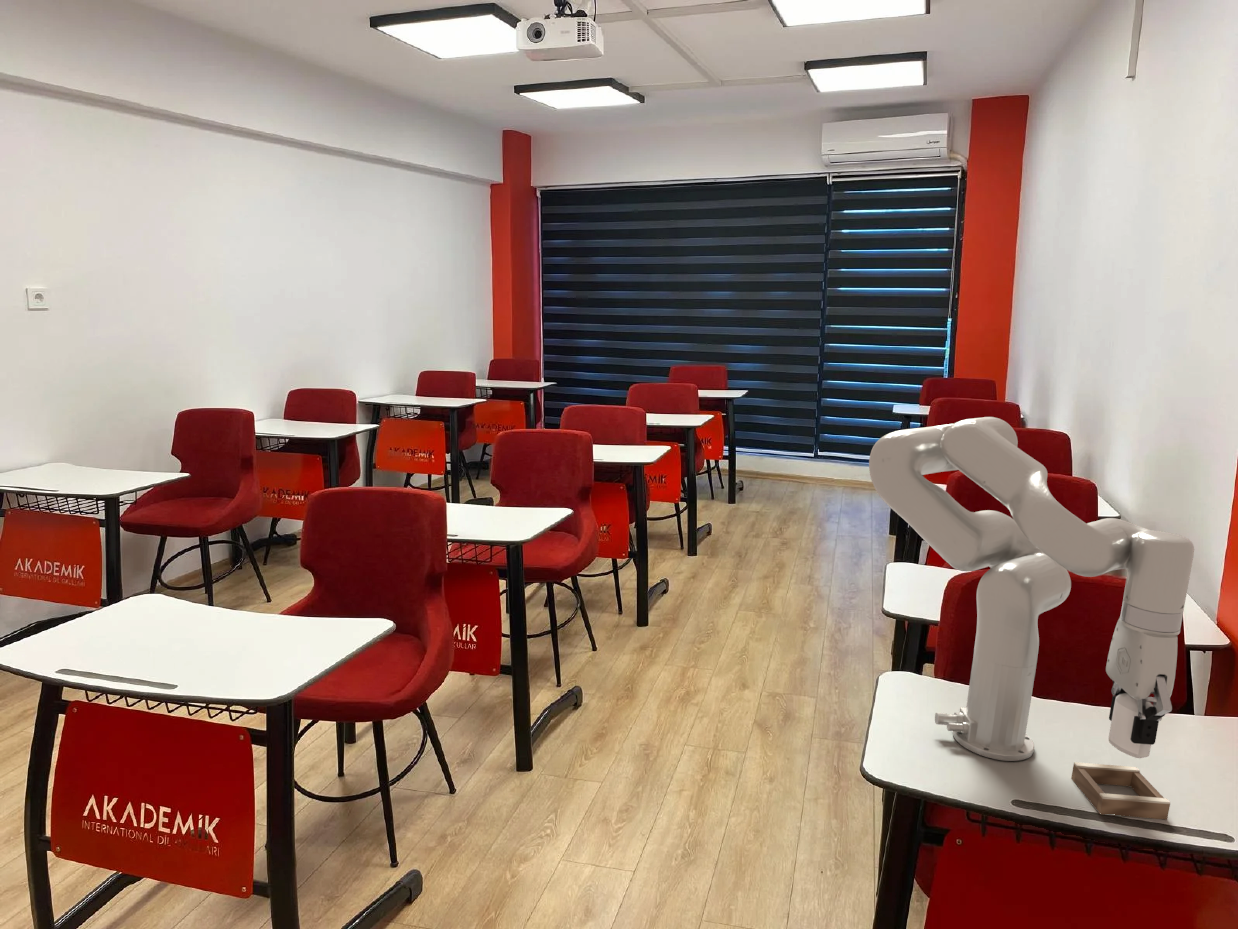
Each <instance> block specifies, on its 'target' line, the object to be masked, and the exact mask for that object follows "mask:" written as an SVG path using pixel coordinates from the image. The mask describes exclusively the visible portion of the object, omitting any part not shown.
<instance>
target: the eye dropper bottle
mask: <svg viewBox="0 0 1238 929" xmlns="http://www.w3.org/2000/svg"><path fill="white" fill-rule="evenodd" d="M1150 706H1153V703H1152V702H1146V709H1147V708H1149V707H1150ZM1134 716H1138V700H1137V699H1134V698H1133V697H1131V696H1130V695H1129V694H1128V693H1124V694H1120V695H1118V696H1117V697H1116V699H1115V703H1114V709H1113V715H1112V720H1111V721H1110V728H1109V734H1108V742H1109V744H1110V745H1111V746H1113V747H1114V748H1115V749H1117V750H1118V751H1120V752H1122V753H1124V754H1125V755H1127V756H1130V757H1132V758H1135V759H1143V758H1148V757H1149V756H1150V752H1151V747H1152V745H1150V744H1136V743H1133V742H1132V741H1131V733H1132V727H1133V722H1134Z"/></svg>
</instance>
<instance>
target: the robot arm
mask: <svg viewBox="0 0 1238 929" xmlns="http://www.w3.org/2000/svg"><path fill="white" fill-rule="evenodd" d="M1018 442H1019V441H1018V436H1017V432H1016V431H1015V430H1014V428H1013V427H1012V426H1011V425H1010V424H1009V423H1008V422H1007V421H1005V420H1003V419H1001V418H998V417H994V416H984V417H974V418H966V419H962V420H959V421H956V422H954V423H949V424H947V423H946V424H941V425H934V426H932V425H931V426H926V427H917V428H916V427H915V428H906V429H900V430H895V431H892V432H889V433H887V434H885V435H883V436H881V437H880V438H879V439H878V440H877V441H875V444H873V446H872V449H871V451H870V454H869V459H868V468H869V471H868V472H869V475H870V479H871V482H872V485H873V488H874V489H875V491H876V493H877V495H878V496H879V497H880V498H881V500H882V501H883V502H884V503H885V504H886V505H887V506H888V507H889V508H890V509H891V510H892V511H893V512H895V514H897V515H898V516H899V517H900V518H902V519H903V520H904V521H905V522H906V523H907V524H908V525H909V526H910V527H911V528H912V530H914V531H915V532H916V533H917V534H918V535H919V536H920V537H921V539H923V541H925V542H926V543H927V544H928V545H929V546H930V547H931V548H932V549H933V551H935V552H936V553H937V554H938V555H939V556H940V557H941V558H942V559H943V560H944V561H945V562H946V563H947V564H948V565H950V566H951V567H952V568H953V569H955V570H958V571H961V572H974V571H978V570H981V569H982V570H983V569H985V568H988V567H989V568H990V569H988V570H987V571H986V572H985V573H984V574H983V575H982V576H981V578H980V580H979V582H978V585H977V588H976V614H977V617H976V633H975V641H974V648H973V656H972V657H973V658H972V663H971V670H970V679H969V685H968V691H967V692H968V694H967V699H966V707H964V706H962V707H961V706H960V707H959V712H954V713H953V714H950V713H944V712H935V714H934V723H935V724H936V725H937V726H938V725H941V726H946V729H947V731H948V732H949V731H950V732H952V736H953V738H954V739H955V740H956V742H958V744H960V746H962V747H963V748H965V749H966V750H968V751H970V752H972V753H974V754H977V755H979V756H983V757H985V758H990V759H992V760H998V761H1005V762H1017V761H1019V762H1020V761H1023V760H1027V759H1029V758H1030V757H1032V756H1033V754H1034V750H1035V743H1034V741H1033V740H1032V738H1031V737H1030V736H1029V735H1028V734H1027V730H1028V729H1027V727H1028V721H1029V714H1030V708H1031V703H1032V702H1031V701H1032V695H1033V688H1034V681H1035V678H1036V672H1037V671H1036V669H1037V663H1038V654H1039V646H1040V637H1039V636H1040V635H1039V628H1038V625H1039V624H1038V619H1039V616H1040V615H1041V614H1043V613H1044V612H1047V611H1050V610H1052V609H1054V608H1057V607H1058V606H1059V605H1061V604H1062V603H1064V602H1065V601H1066V600H1067V598H1068V597H1069V595H1070V592H1071V590H1072V589H1071V588H1072V580H1071V577H1070V574H1069V572H1070V573H1073V574H1075V575H1078V576H1082V577H1088V578H1089V577H1090V578H1092V577H1099V576H1102V575H1105V574H1106V573H1109V572H1112V571H1116V570H1126V571H1127V572H1126V573H1127V574H1126V579H1125V585H1124V586H1125V587H1124V592H1123V599H1122V604H1121V605H1122V606H1121V609H1120V610H1121V611H1120V616H1119V617H1118V620H1117V622H1116V625H1115V628H1114V632H1113V635H1112V639H1111V642H1110V645H1109V651H1108V654H1107V661H1106V666H1105V672H1106V674H1107V676H1108V677H1109V678H1110V680H1112V687H1111V694H1112V697H1111V698H1112V699H1111V703H1110V704H1111V705H1110V709H1109V715H1108V719H1109V722H1111V720H1112V715H1113V709H1114V703H1115V699H1116V697H1117V696H1118V695H1120V694H1124V693H1128V694H1129V695H1130V696H1131V697H1133V698H1134V699H1137V700H1138V716H1134V722H1133V727H1132V733H1131V741H1132V742H1133V743H1136V744H1150V745H1151V746H1152V745H1154V744H1156V740H1157V734H1158V728H1159V722H1161V721H1162V720H1163V718H1164V717H1165V715H1166V714H1169V713H1171V712H1172V710H1173V705H1172V701H1171V696H1172V694H1173V689H1174V685H1175V679H1176V670H1177V660H1178V635H1179V634H1180V633H1181V627H1182V622H1183V615H1184V609H1185V605H1186V598H1187V594H1188V589H1189V583H1190V579H1191V578H1190V576H1191V572H1192V566H1193V560H1194V554H1195V546H1194V543H1193V542H1192V541H1191V540H1190V539H1189V538H1187V537H1186V536H1183V535H1181V534H1177V533H1173V532H1168V531H1163V530H1161V531H1160V530H1152V529H1149V528H1146V527H1143V526H1140V525H1138V524H1135V523H1133V522H1129V521H1128V520H1124V519H1119V518H1115V517H1107V518H1101V519H1099V520H1096V521H1095V520H1094V521H1091V522H1087V523H1086V522H1085V521H1083V520H1082V519H1081V518H1079V517H1078V516H1077V515H1076V514H1073V513H1072V512H1071V511H1069V510H1068V509H1067V508H1065V507H1064V506H1063V505H1062V504H1061V503H1060V502H1059V501H1057V500H1056V498H1055V497H1054V496H1053V494H1052V493H1051V491H1050V489H1049V486H1048V482H1047V481H1048V470H1047V468H1046V466H1044V464H1042V463H1041V462H1039V461H1038V460H1036V459H1034V457H1032V456H1030V455H1029V454H1027V453H1026V452H1025V451H1023V450H1022V449H1021V448H1019V447H1018V444H1019V443H1018ZM951 471H959V472H960V473H962V474H963V475H965V476H966V477H967V478H969V479H970V480H971V481H973V482H974V483H975V484H976V485H978V486H979V487H980V488H982V489H983V490H984V491H985V492H987V493H988V494H990V495H991V496H992V497H994V499H996V500H997V501H999V502H1000V504H1002V505H1003V506H1005V507H1006V508H1007V510H1009V512H1010V516H1009V515H1007V514H1005V513H1003V512H1000V511H998V510H990V509H987V510H986V509H985V510H979V511H975V512H974V511H970V510H968V509H966V508H965V507H964V506H962V505H961V504H960V503H959V502H958V501H957V500H955V498H954V497H952V495H951V494H950V493H949V492H948V491H946V490H945V489H943V488H942V487H940V486H938V485H937V484H935V483H933V482H932V481H929V480H928V479H927V478H926V477H925V475H929V474H936V473H941V472H942V473H943V472H951ZM1151 694H1153V697H1152V696H1150V695H1151ZM1146 702H1150V703H1152V705H1153V706H1150V707H1149V708H1147V709H1146Z"/></svg>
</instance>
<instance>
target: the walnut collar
mask: <svg viewBox="0 0 1238 929" xmlns="http://www.w3.org/2000/svg"><path fill="white" fill-rule="evenodd" d="M1143 775H1144V774H1143ZM1143 775H1142V773H1141V770H1140V769H1139V768H1138V767H1137V766H1127V765H1126V766H1125V765H1116V764H1103V763H1101V764H1100V763H1092V762H1091V763H1090V762H1089V763H1087V762H1077V761H1075V762H1073V766H1072V771H1071V778H1070V779H1071V780H1072V781H1073V783H1075V785H1076V786H1077V788H1078V789H1079V790H1080V792H1082V794H1083V795H1084V794H1085V795H1084V796H1085V798H1086V799H1087V798H1088V799H1087V800H1088V801H1089V802H1090V804H1091V803H1092V804H1093V805H1092V804H1091V805H1092V807H1094V809H1095V808H1096V809H1097V810H1098V811H1099V812H1098V811H1097V810H1096V809H1095V810H1096V811H1097V812H1098V814H1100V813H1101V814H1100V815H1104V814H1115V815H1114V816H1116V815H1121V816H1120V817H1130V818H1142V819H1153V820H1154V819H1155V820H1166V821H1167V820H1168V817H1169V812H1170V807H1171V801H1170V800H1169V799H1168V798H1165V797H1164V796H1163V795H1162V794H1161V793H1160V792H1159V790H1157V789H1156V788H1155V787H1154V785H1152V784H1151V783H1150V782H1149V780H1147V778H1146V777H1145V776H1143ZM1099 785H1109V786H1120V787H1130V788H1131V789H1132V790H1133V791H1134V792H1135V793H1136V795H1129V794H1116V793H1105V791H1103V789H1102V788H1101V787H1100V786H1099Z"/></svg>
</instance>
